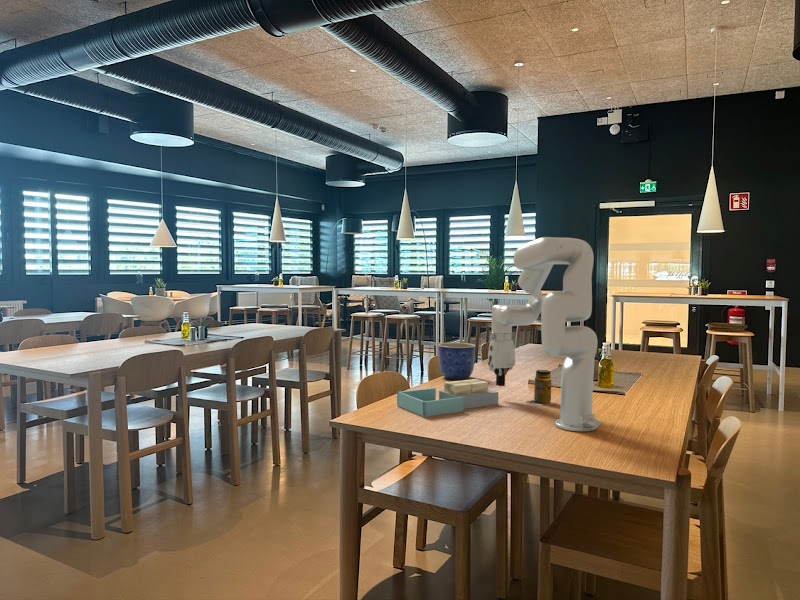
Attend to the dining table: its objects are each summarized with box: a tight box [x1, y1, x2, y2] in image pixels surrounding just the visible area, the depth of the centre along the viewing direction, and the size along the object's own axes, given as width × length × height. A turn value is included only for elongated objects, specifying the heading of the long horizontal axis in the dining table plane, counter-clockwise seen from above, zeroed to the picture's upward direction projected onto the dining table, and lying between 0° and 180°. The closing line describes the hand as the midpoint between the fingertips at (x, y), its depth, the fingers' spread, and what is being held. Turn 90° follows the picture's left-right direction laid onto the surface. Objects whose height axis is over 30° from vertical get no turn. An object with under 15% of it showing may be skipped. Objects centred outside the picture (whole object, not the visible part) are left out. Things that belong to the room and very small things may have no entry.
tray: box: [396, 387, 464, 418], centre depth 198 cm, size 18×16×5 cm
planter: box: [437, 342, 476, 381], centre depth 258 cm, size 17×17×15 cm
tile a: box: [461, 378, 489, 394], centre depth 208 cm, size 7×7×4 cm
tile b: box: [443, 380, 471, 396], centre depth 204 cm, size 7×7×4 cm
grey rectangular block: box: [438, 388, 499, 410], centre depth 207 cm, size 12×18×4 cm, turn 120°
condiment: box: [525, 369, 555, 406], centre depth 210 cm, size 7×8×12 cm
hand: (500, 385), depth 214 cm, fingers closed
